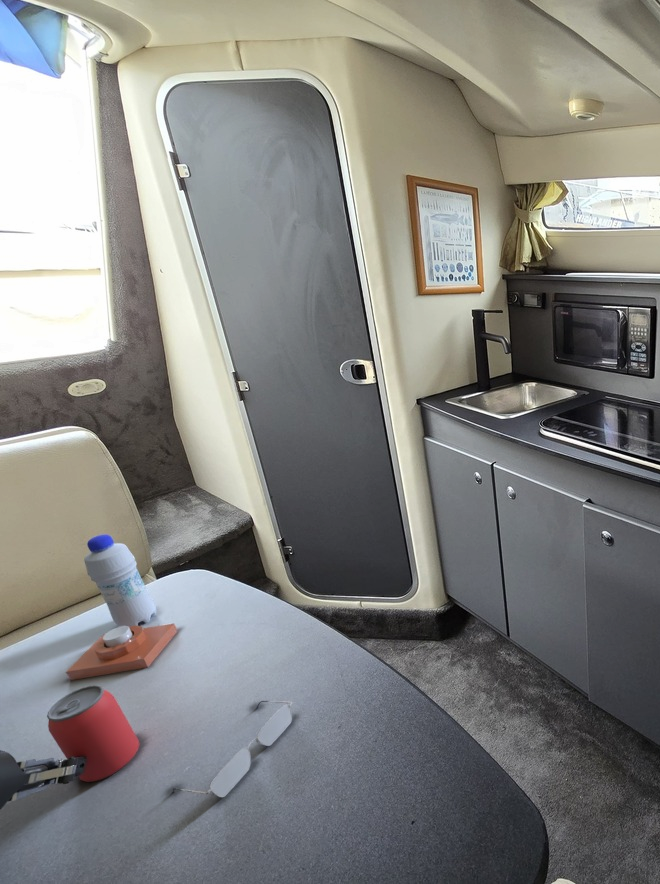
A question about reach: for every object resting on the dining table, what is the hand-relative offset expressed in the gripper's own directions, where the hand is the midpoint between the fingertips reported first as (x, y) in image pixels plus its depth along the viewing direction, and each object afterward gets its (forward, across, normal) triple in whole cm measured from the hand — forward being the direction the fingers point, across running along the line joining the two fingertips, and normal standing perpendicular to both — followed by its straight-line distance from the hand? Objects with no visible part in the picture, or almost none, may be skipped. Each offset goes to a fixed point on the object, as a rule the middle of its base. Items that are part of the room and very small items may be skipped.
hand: (78, 766), depth 67 cm
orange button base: (+22, +12, -16) cm, 30 cm away
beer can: (+6, 0, 0) cm, 6 cm away
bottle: (+29, +16, -23) cm, 41 cm away
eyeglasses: (+4, -18, +2) cm, 19 cm away
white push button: (+19, +12, -19) cm, 30 cm away
